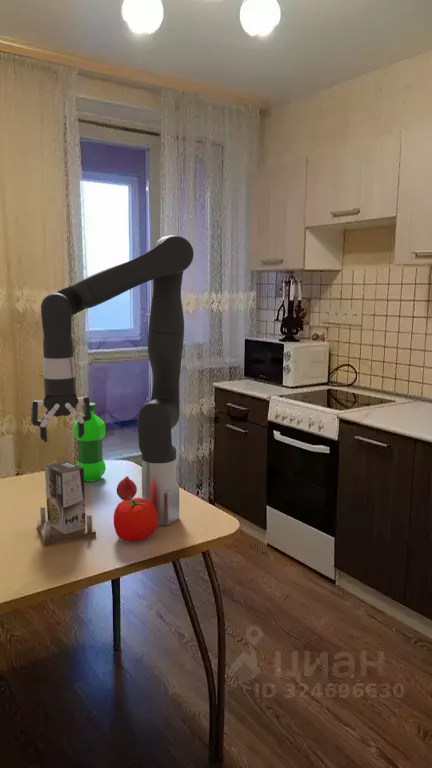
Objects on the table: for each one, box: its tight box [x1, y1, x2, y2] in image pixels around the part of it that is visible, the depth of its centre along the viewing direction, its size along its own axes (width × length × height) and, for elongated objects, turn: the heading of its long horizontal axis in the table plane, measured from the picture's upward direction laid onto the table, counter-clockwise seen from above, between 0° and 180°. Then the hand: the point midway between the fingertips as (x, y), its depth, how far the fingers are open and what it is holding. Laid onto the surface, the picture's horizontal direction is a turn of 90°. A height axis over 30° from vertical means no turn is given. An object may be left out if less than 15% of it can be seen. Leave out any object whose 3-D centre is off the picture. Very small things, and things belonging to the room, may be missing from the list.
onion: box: [116, 475, 138, 501], centre depth 168 cm, size 6×6×8 cm
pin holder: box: [37, 506, 97, 547], centre depth 148 cm, size 13×13×6 cm
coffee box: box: [44, 460, 86, 534], centre depth 147 cm, size 9×6×16 cm
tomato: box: [113, 496, 159, 543], centre depth 144 cm, size 12×12×10 cm
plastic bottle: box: [72, 402, 107, 482], centre depth 186 cm, size 10×10×25 cm
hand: (62, 439), depth 144 cm, fingers open, 8 cm apart
